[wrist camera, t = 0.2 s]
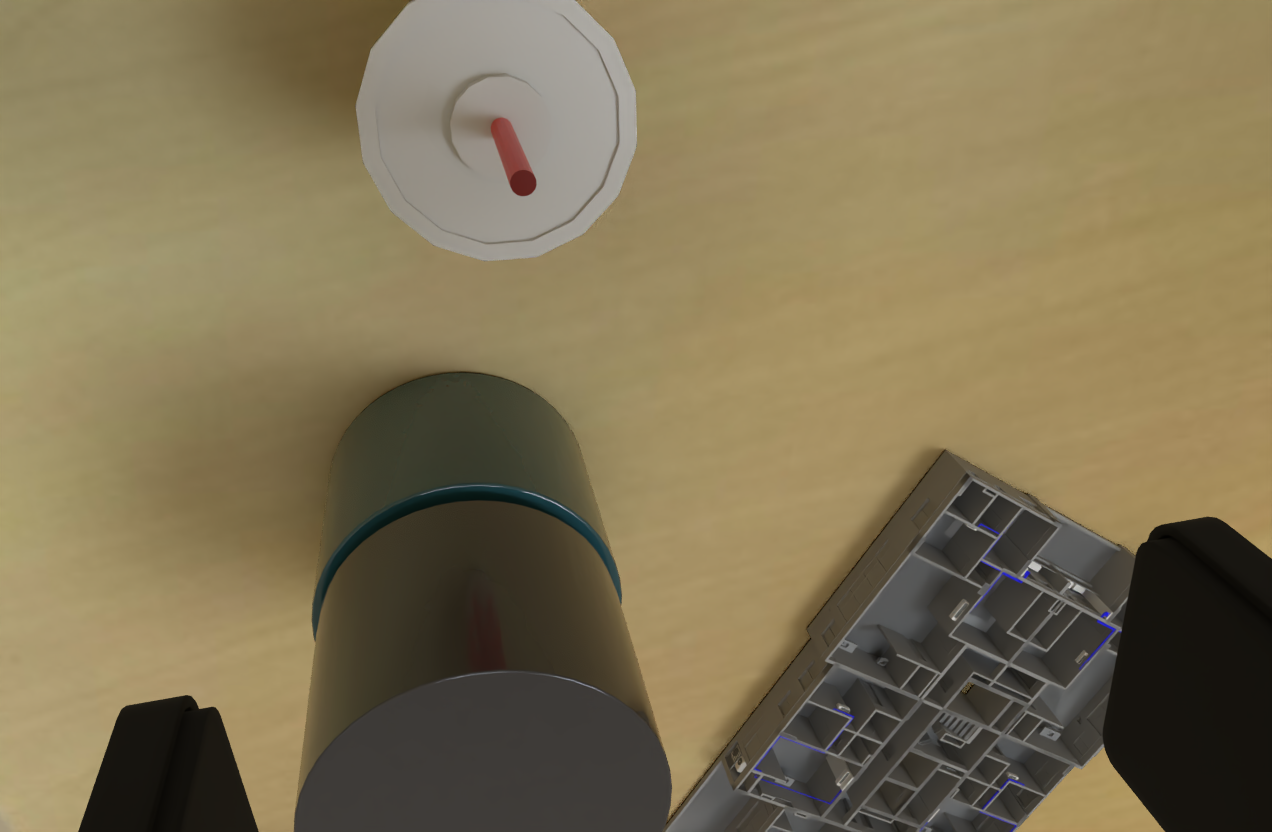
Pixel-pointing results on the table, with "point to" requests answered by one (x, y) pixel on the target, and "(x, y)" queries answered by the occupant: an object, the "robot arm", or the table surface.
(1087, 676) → the building model
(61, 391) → the table surface
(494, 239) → the beverage cup
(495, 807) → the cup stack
